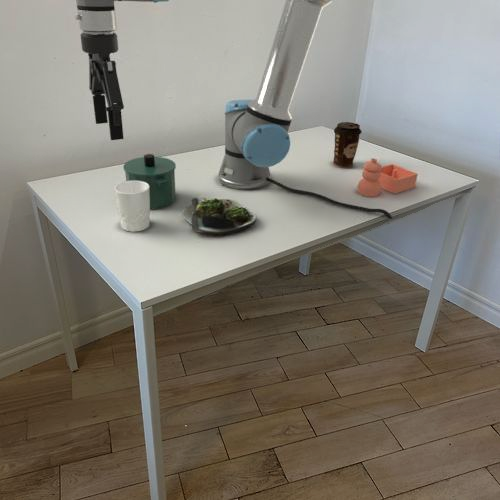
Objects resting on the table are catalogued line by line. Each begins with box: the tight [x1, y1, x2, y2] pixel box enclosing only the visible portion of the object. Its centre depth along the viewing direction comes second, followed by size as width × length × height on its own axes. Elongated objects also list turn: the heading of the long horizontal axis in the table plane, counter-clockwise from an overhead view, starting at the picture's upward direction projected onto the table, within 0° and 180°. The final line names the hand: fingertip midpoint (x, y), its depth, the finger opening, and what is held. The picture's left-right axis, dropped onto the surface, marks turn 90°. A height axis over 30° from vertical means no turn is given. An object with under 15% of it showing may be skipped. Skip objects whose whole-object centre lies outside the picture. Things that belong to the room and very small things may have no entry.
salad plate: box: [181, 197, 257, 238], centre depth 124 cm, size 19×18×5 cm
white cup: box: [114, 180, 151, 233], centre depth 118 cm, size 8×8×10 cm
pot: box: [124, 170, 177, 210], centre depth 132 cm, size 12×18×9 cm
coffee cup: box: [332, 121, 362, 169], centre depth 158 cm, size 9×8×13 cm
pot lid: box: [123, 153, 177, 177], centre depth 129 cm, size 13×13×4 cm
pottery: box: [357, 158, 419, 198], centre depth 143 cm, size 18×10×10 cm, turn 126°
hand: (109, 130), depth 117 cm, fingers open, 13 cm apart
